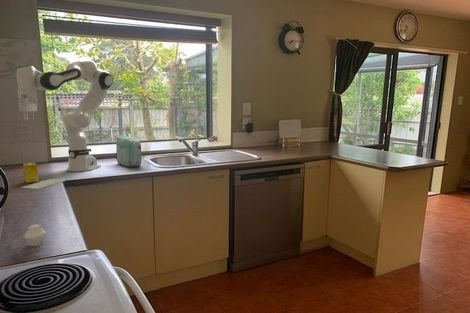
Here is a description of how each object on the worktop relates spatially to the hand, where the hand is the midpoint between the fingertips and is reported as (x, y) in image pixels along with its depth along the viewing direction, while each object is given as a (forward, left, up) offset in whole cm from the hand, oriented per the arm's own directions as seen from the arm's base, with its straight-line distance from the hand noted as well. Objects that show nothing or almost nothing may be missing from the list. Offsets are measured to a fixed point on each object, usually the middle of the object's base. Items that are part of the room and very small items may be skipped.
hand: (29, 119), depth 189 cm
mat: (+4, +11, -36) cm, 37 cm away
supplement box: (+3, +1, -36) cm, 36 cm away
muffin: (+68, +74, -36) cm, 107 cm away
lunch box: (-60, +23, -36) cm, 73 cm away
